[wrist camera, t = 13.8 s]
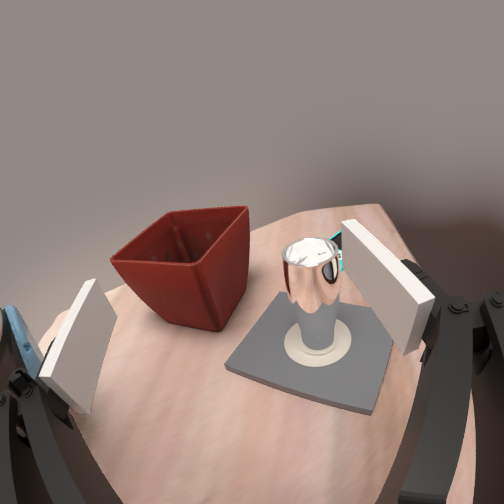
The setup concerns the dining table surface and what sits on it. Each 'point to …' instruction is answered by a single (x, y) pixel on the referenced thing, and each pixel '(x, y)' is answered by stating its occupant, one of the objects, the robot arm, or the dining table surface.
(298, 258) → the beer glass
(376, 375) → the serving board
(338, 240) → the handheld game console
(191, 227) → the plant pot
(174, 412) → the dining table surface
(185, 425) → the dining table surface
